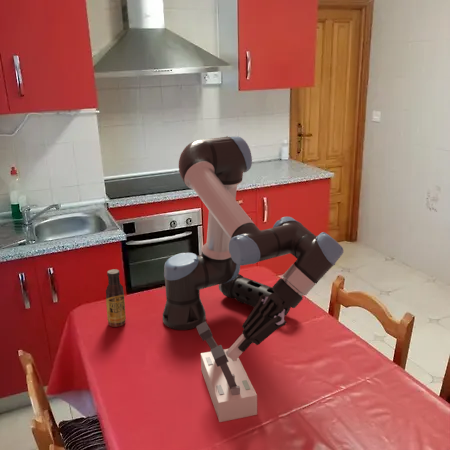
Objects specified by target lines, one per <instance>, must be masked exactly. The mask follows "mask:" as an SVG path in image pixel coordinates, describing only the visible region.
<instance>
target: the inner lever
mask: <svg viewBox="0 0 450 450" xmlns="http://www.w3.org/2000/svg"><path fill="white" fill-rule="evenodd" d="M196 330H197V332H198V335H199V336H200V338H201V340H202V342H204V341H205V342H206V344H207V345H208V347H209V348H210V350H211V349H213V348H215V347H217V346H219V344H218V343H217V342H216V340H215V339H214V337H213V333H212V330H211V328H210V326H209V324H208V323H207V321H206V320H205V321H204V322H203V323H201V324H200V325H198V326H196Z"/></svg>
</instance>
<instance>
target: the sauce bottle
mask: <svg viewBox="0 0 450 450" xmlns="http://www.w3.org/2000/svg"><path fill="white" fill-rule="evenodd" d="M120 274H121V273H120V270H119V269H117V268H115V269H114V268H113V269H109V270H107V272H106V275H107V281H108V285H107V287H106V289H105V301H106V302H105V304H106V316H107V317H106V319H107V323H108V325H109V326H110V327H112V328H116V327H117V328H119V327H121V326H123V325H125V324H126V318H127V317H126V302H125V292H124V286H123V285H122V284H121V280H120Z"/></svg>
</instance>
